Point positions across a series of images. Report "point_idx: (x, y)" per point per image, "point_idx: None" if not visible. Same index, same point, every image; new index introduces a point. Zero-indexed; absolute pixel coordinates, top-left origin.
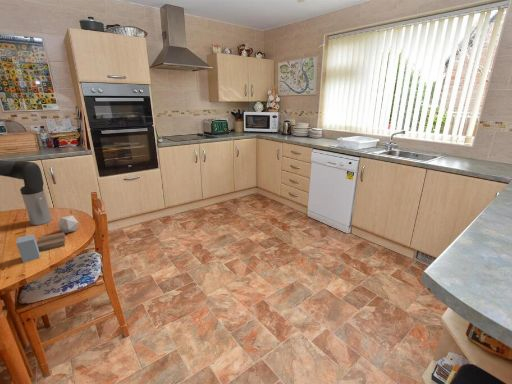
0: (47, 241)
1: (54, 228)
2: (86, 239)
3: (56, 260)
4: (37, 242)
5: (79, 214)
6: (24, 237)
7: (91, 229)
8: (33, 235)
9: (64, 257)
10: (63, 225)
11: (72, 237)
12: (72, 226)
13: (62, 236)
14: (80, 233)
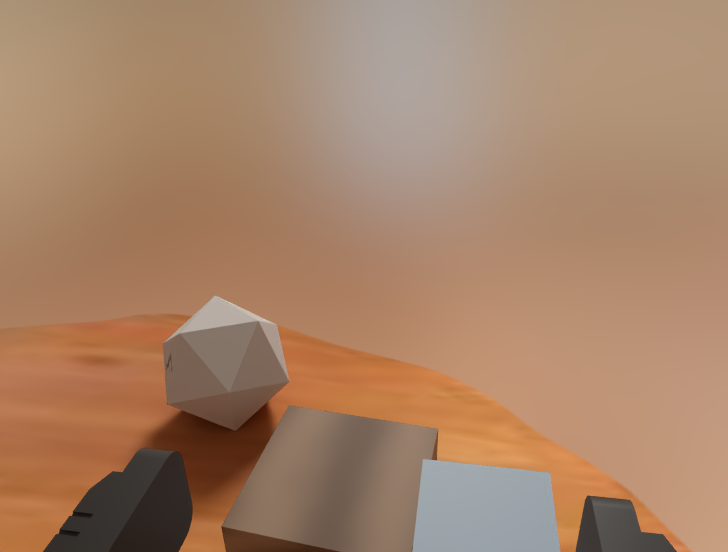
0: (362, 493)
1: (79, 452)
2: (435, 377)
3: (641, 529)
4: (318, 544)
5: (32, 337)
6: (448, 518)
7: (318, 342)
8: (454, 464)
9: (620, 489)
10: (256, 368)
11: (342, 413)
12: (283, 355)
13: (357, 421)
14: (322, 379)
